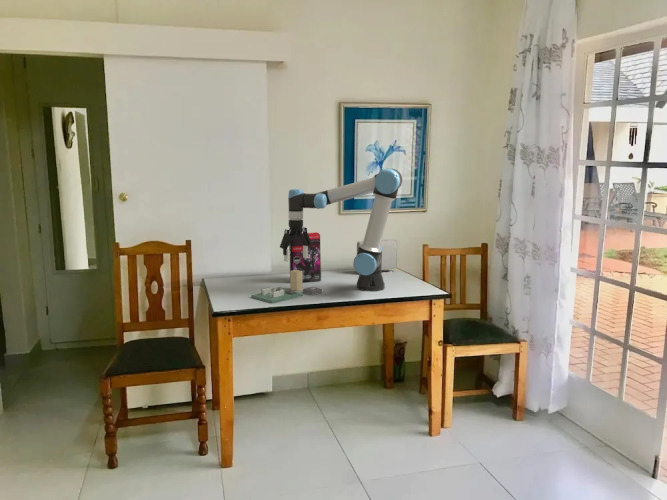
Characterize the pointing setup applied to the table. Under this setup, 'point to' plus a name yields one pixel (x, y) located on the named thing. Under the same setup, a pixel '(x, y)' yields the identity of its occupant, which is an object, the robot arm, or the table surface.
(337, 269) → the table surface
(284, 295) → the board
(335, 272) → the table surface
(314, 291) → the fan block
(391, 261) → the network device
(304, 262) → the graphics card box
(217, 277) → the table surface
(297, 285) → the plug
